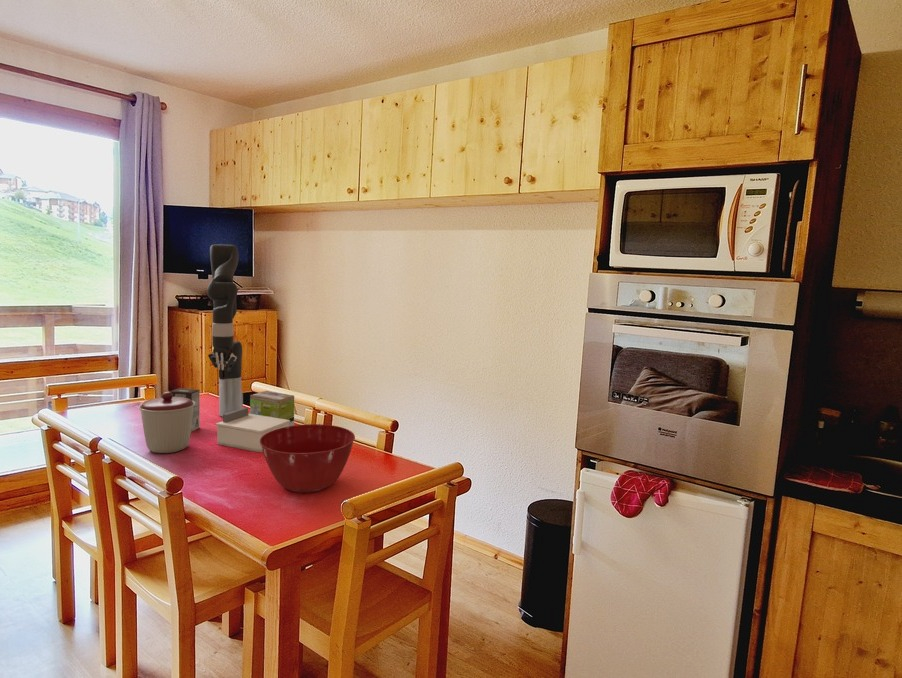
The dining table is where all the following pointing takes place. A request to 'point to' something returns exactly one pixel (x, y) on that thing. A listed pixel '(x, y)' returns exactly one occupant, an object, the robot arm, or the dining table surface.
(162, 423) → the canister
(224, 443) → the box
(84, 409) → the dining table surface
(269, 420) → the lid
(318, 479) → the mixing bowl
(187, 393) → the coffee box
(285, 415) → the tea box
